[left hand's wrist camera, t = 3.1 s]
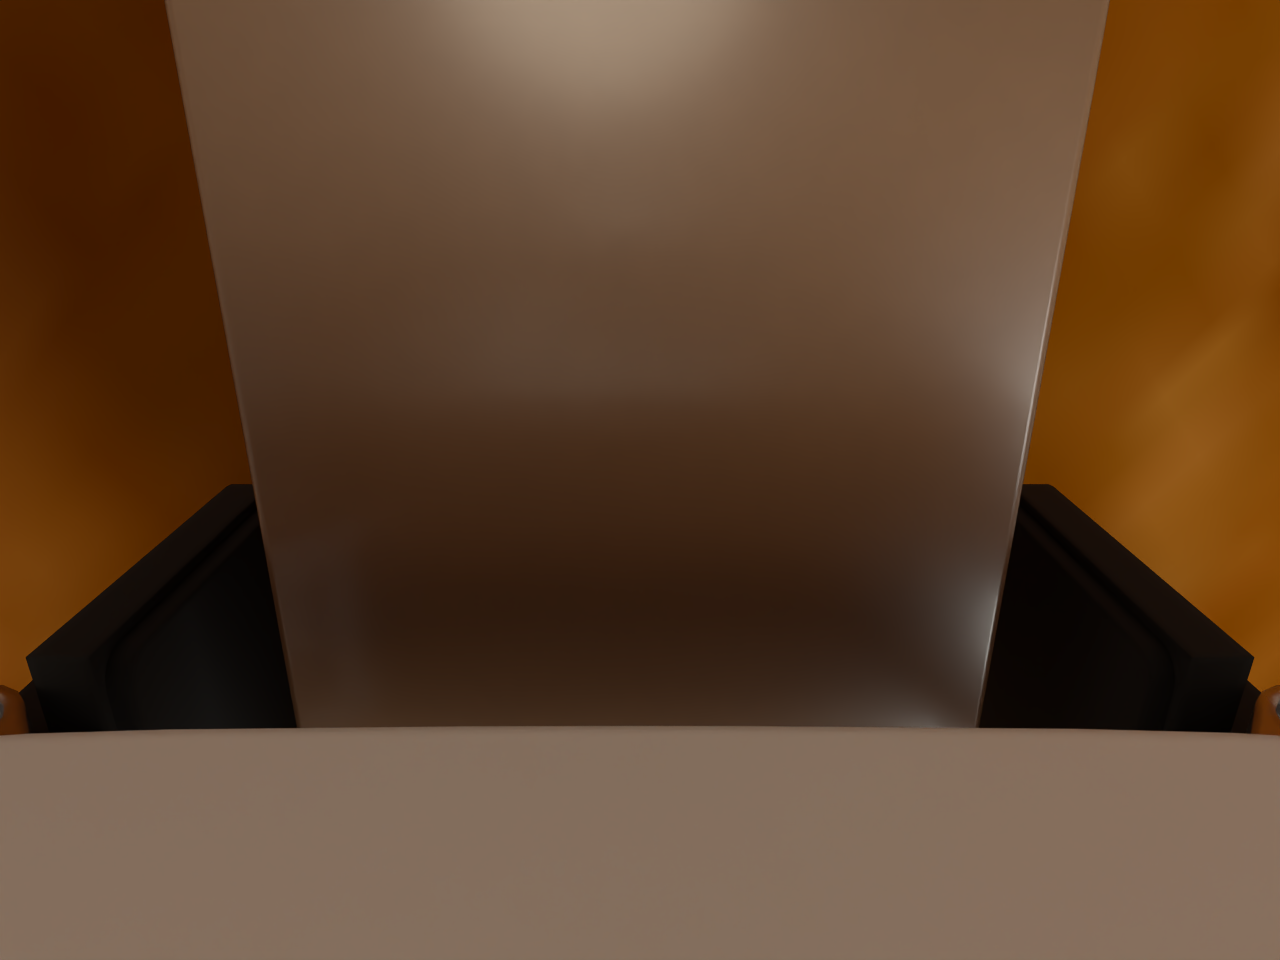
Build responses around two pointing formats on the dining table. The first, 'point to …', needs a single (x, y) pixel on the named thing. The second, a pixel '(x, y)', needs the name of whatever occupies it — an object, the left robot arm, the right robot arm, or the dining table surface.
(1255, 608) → the dining table surface
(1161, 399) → the dining table surface
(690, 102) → the beam
